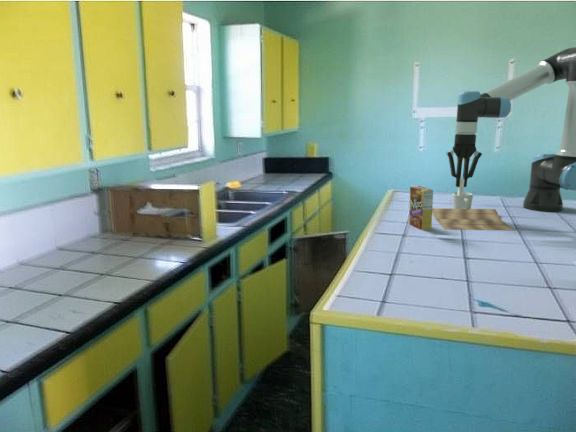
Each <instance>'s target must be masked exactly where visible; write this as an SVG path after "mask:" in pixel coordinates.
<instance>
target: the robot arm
mask: <svg viewBox="0 0 576 432" xmlns="http://www.w3.org/2000/svg"><path fill="white" fill-rule="evenodd" d="M561 80H565V84H566V85H567V86H568V87H569V89H568V96H567V102H566V108H565V116H564V121H563V127H562V128H563V129H562V135H561V143H560V147H559V148H560V149H559V150H558V151H557V152H555V153H541V154H534V155H533V156H532V159H531V163H530V164H531V167H530V169H531V170H530V179H529V187H528V188H529V189H528V190H527V193H526V195H525V197H524V200H523V204H522V207H523V208H525V209H528V210H531V211H538V212H539V211H540V212H560V211H562V210H563V207H564V202H563V198H562V195H561V189H563V190H566V191H568V190H569V191H576V46H574V47H569V48H566V49H565V48H564V49H562V50H560V51H559V52H557V53H554V54H553V55H551V56H549V57H547V58H545V59H544V60H541V61H540V62H539V63H538V64H537V66H535V67H533V68H531V69H529V70H527V71H525V72H522V73H521V74H520V75H517V76H515V77H513V78H511V79H509V80H507V81H505V82H503V83H501V84H499V85H497V86H495V87H493V88H491V89H489V90H487V91H485V92H483V93H481V92H480V91H478V90H475V91H473V90H468V91H466V90H464V91H463V90H462V91H460V92H459V94H458V98H457V109H456V110H457V111H456V123H455V134H454V144H453V146H452V149H451V150H449V151H446V156H447V158H448V162H449V163H448V164H449V169H450V175H451V177H452V178H455V187H456V188H457V192H458V193H457V195H458V196H463V192H465V191H464V189H465V188H467V184H468V179H469V178H472V177H473V176H474V173H475V171H476V168H477V165H478V163H479V159H480V158H481V157H482V155H483V153H482V152H480V151H478V150H477V147H476V142H477V141H476V140H477V135H476V133H477V131H478V130H477V129H478V123H479V122H478V120H479V118H486V119H487V118H490V119H491V118H493V119H502V118H506V117H508V116H509V114H511V110H512V102H511V101H513V100H515V99H517V98H519V97H520V96H523V95H525V94H527V93H529V92H531V91H533V90H535V89H537V88H539V87H541V86H544V85H545V84H546V85H550V84H551V85H552V83H555V82H557V81H561ZM454 155H455V156H456V158H457V159H456V161H457V162H456V167H455V161H454ZM472 156H473V159H472V161H471V165H470V160H471V157H472ZM462 165H463V172H462ZM469 167H470V168H469ZM462 173H463V174H462ZM559 210H560V211H559Z"/></svg>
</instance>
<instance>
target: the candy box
mask: <svg viewBox="0 0 576 432" xmlns="http://www.w3.org/2000/svg"><path fill="white" fill-rule="evenodd" d="M433 199H434V190H433V189H431V188H427V187H424V186H420V185H412V186H410V187H409V215H408V217H409V219H408V225H409V226H412V227H414V228H416V229H419V230H421V231H423V230H424V231H426V230H427V231H428V230H431V229H432V220H433V213H432V208H433V203H434V202H433Z"/></svg>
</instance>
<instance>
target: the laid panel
mask: <svg viewBox="0 0 576 432" xmlns="http://www.w3.org/2000/svg"><path fill="white" fill-rule="evenodd" d="M435 220H436V222H437V223H439V225H440V226H441V227H442V229H443V230H451V231H452V230H454V231H509V232H510V231H512V232H513V231H516V229H514V228H513V227H512V226H511V225H509V224H507V222H505V221H504V220H502V219H501V220H479V219H435Z"/></svg>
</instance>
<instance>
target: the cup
mask: <svg viewBox="0 0 576 432" xmlns="http://www.w3.org/2000/svg"><path fill="white" fill-rule="evenodd" d="M457 193H458V191H456V192H452V194H451V196H452V209H472V203H473V197H474V194H473V193H471V192H465V191H463V196H458V195H457Z"/></svg>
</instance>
